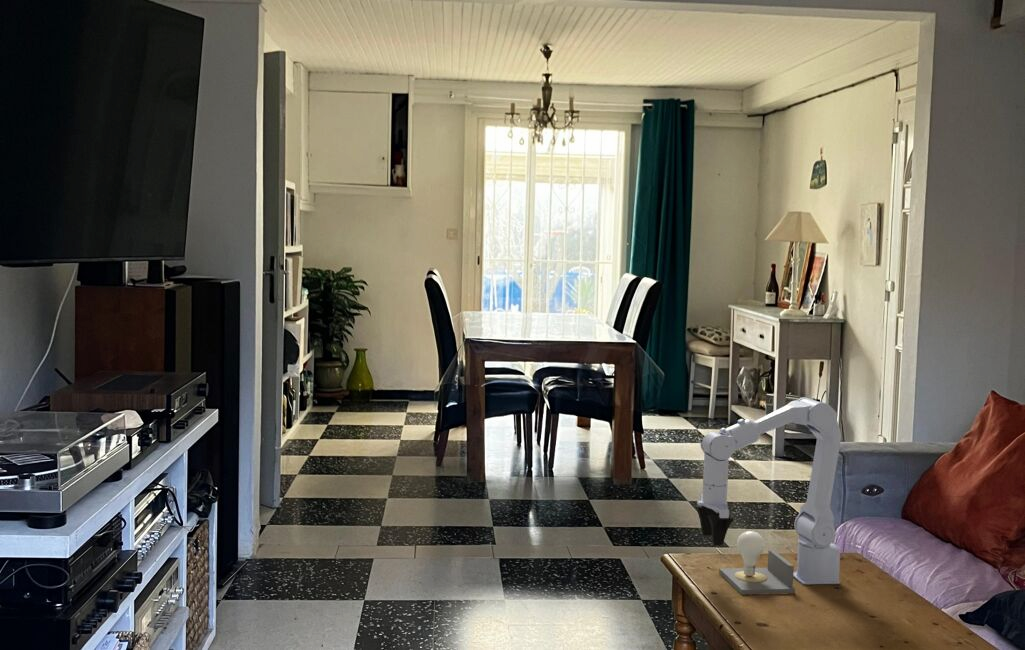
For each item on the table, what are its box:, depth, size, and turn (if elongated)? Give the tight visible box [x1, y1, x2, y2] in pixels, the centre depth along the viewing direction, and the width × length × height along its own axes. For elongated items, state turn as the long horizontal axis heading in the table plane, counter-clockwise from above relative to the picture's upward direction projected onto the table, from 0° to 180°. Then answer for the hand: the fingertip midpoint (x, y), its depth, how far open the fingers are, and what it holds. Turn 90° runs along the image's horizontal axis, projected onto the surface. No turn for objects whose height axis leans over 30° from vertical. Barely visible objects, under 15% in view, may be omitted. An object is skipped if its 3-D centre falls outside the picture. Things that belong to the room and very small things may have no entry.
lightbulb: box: [736, 530, 765, 577], centre depth 234 cm, size 6×6×11 cm
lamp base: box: [718, 549, 796, 596], centre depth 234 cm, size 13×15×6 cm
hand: (712, 539), depth 233 cm, fingers open, 7 cm apart
